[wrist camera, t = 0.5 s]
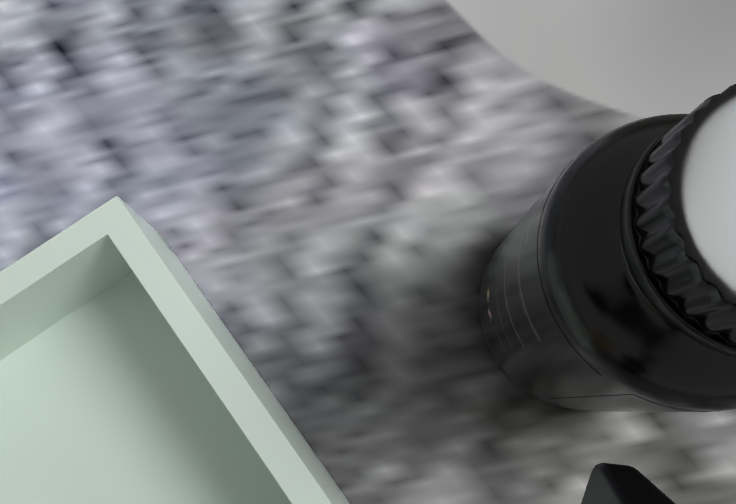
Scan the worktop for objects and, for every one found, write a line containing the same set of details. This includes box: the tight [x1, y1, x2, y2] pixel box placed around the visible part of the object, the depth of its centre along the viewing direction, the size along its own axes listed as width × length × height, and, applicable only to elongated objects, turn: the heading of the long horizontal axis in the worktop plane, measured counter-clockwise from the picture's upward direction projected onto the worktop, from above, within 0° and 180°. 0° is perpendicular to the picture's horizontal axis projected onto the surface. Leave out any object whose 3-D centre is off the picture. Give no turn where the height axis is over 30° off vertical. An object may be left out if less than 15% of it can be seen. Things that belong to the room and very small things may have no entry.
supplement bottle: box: [479, 84, 736, 412], centre depth 16 cm, size 7×7×12 cm
